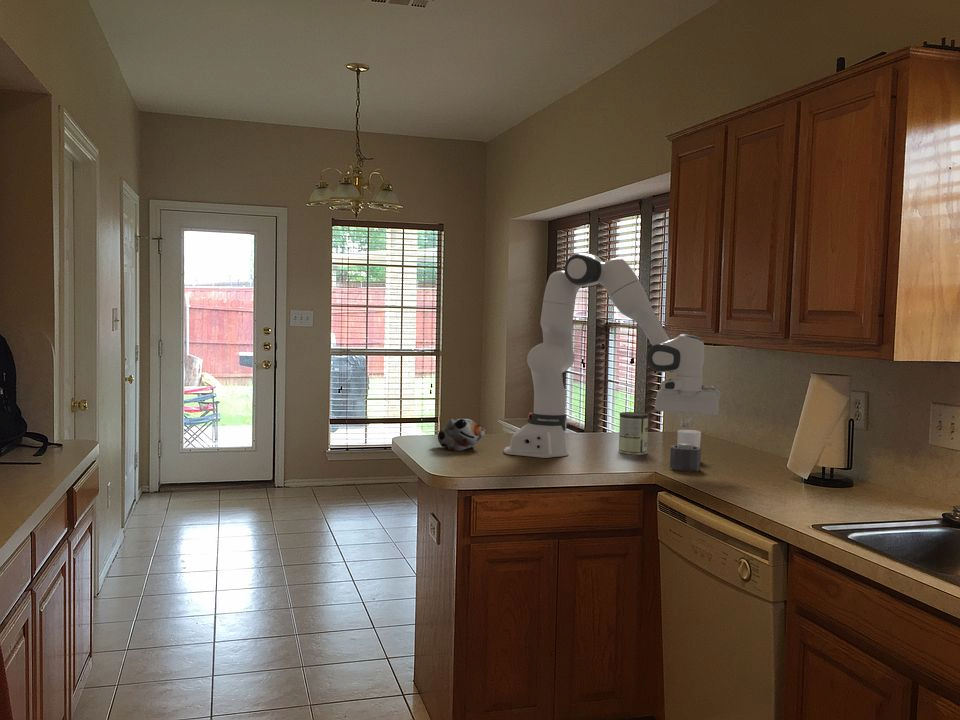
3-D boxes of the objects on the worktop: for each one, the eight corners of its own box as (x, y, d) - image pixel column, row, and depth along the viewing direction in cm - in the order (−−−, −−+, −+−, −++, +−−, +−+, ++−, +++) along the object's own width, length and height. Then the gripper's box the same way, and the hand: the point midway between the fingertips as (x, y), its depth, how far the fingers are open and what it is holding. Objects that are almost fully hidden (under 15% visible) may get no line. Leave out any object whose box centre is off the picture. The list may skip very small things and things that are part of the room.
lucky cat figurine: (473, 445, 307) (487, 414, 301) (475, 463, 296) (490, 431, 290) (435, 433, 303) (448, 401, 298) (435, 451, 293) (449, 419, 287)
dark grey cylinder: (670, 470, 269) (671, 448, 269) (669, 465, 278) (670, 444, 278) (700, 472, 267) (701, 450, 267) (698, 467, 276) (699, 446, 276)
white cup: (700, 462, 285) (701, 433, 285) (676, 461, 287) (677, 432, 286) (699, 458, 293) (700, 430, 293) (675, 457, 295) (677, 429, 294)
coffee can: (617, 449, 308) (618, 411, 307) (645, 450, 307) (647, 412, 306) (619, 454, 298) (620, 414, 297) (648, 455, 297) (650, 415, 296)
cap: (677, 457, 271) (677, 445, 270) (676, 454, 275) (677, 442, 275) (693, 458, 270) (693, 446, 269) (692, 455, 274) (692, 443, 274)
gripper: (720, 386, 272) (717, 428, 273) (656, 381, 276) (653, 423, 277) (722, 387, 266) (719, 430, 267) (656, 383, 270) (653, 425, 271)
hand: (685, 426), depth 272 cm, fingers closed
